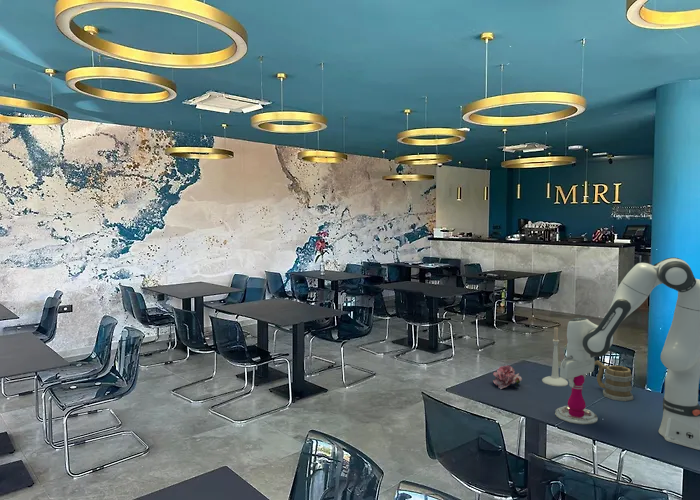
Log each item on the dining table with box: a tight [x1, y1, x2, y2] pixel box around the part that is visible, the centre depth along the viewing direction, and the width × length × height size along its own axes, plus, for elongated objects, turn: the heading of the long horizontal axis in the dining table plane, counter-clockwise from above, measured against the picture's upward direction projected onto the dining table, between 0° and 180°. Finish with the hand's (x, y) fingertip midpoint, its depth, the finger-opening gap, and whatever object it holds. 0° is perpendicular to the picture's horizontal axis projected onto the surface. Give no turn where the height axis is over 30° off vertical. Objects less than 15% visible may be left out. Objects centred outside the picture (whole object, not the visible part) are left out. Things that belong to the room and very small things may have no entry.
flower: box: [492, 364, 523, 390], centre depth 254 cm, size 15×15×10 cm
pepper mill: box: [567, 375, 586, 417], centre depth 214 cm, size 7×7×20 cm
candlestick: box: [541, 326, 569, 387], centre depth 259 cm, size 13×13×30 cm
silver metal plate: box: [554, 405, 599, 426], centre depth 215 cm, size 17×17×2 cm
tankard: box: [594, 359, 634, 402], centre depth 242 cm, size 20×13×15 cm, turn 22°
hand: (576, 385), depth 214 cm, fingers closed on pepper mill, 5 cm apart
